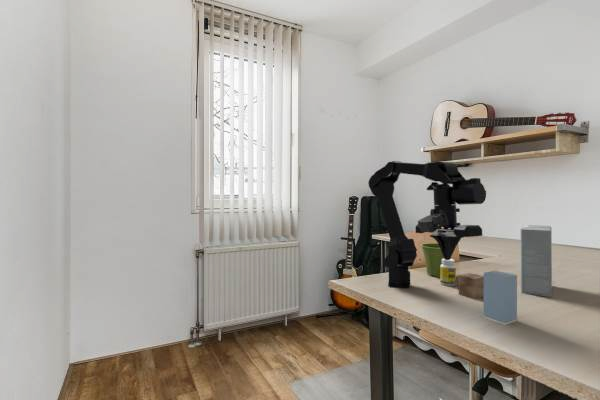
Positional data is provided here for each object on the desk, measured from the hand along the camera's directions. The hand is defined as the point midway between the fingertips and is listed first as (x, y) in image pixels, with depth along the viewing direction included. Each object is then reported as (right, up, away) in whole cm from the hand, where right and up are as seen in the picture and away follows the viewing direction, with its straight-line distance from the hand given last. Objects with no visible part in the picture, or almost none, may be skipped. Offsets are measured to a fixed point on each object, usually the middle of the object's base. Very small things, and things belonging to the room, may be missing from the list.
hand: (447, 259), depth 87 cm
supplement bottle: (+8, -12, +17) cm, 22 cm away
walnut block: (+10, -12, +5) cm, 16 cm away
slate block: (+7, -12, -13) cm, 19 cm away
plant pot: (+10, -12, +29) cm, 33 cm away
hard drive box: (+34, -12, +11) cm, 37 cm away
